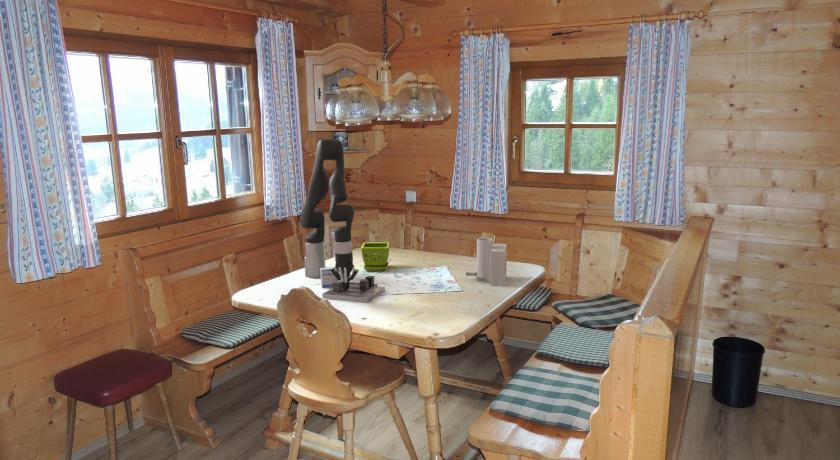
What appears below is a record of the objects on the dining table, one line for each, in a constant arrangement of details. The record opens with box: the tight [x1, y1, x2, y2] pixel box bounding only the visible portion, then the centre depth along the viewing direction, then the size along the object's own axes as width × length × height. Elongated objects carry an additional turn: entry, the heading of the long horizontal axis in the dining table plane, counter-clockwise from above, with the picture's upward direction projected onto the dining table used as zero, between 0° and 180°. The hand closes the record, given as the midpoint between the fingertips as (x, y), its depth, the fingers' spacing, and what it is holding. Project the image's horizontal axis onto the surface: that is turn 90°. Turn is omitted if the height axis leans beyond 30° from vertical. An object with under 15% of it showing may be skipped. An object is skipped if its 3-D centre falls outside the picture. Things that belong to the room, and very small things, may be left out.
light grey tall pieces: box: [465, 237, 508, 287], centre depth 293 cm, size 16×19×20 cm
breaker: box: [332, 281, 342, 293], centre depth 271 cm, size 3×3×5 cm
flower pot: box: [360, 241, 391, 272], centre depth 318 cm, size 14×14×13 cm
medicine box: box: [320, 266, 338, 289], centre depth 289 cm, size 8×4×9 cm, turn 105°
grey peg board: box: [321, 275, 386, 304], centre depth 275 cm, size 22×18×7 cm
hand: (345, 290), depth 270 cm, fingers closed
